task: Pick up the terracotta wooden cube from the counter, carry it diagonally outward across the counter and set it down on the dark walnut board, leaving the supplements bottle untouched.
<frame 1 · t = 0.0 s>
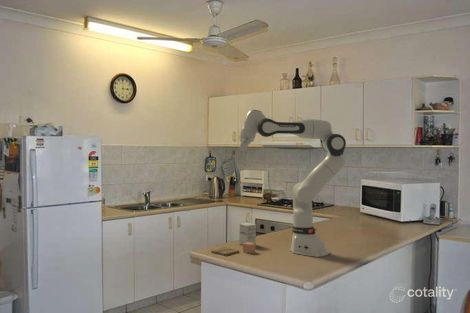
hand: (238, 159, 235), 52 cm above the worktop, tool tilted 20°, fingers open, 8 cm apart
terracotta cube: (249, 252, 230), on the worktop
supplement box: (247, 244, 248), on the worktop
walnut board: (225, 252, 229), on the worktop
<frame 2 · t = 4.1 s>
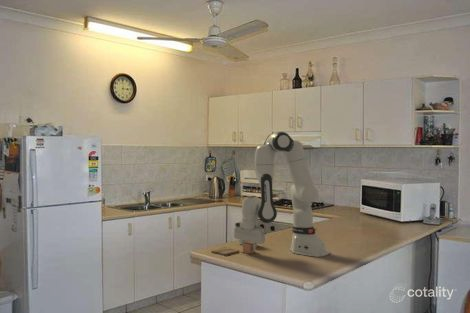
hand: (249, 249, 230), 2 cm above the worktop, tool pointing down, fingers closed on terracotta cube, 5 cm apart
terracotta cube: (249, 252, 230), on the worktop, touching gripper
everything else where it was.
when the fingers open (4 cm above the worktop, at t = 11.5 s): terracotta cube drops 1 cm, resting on walnut board.
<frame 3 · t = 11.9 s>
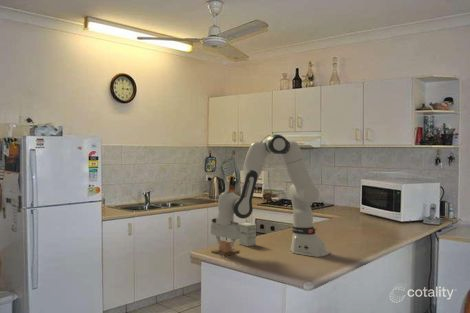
hand: (225, 245, 229), 4 cm above the worktop, tool pointing down, fingers open, 8 cm apart
terracotta cube: (225, 250, 229), point 1 cm above the worktop, touching walnut board
everything else where it was.
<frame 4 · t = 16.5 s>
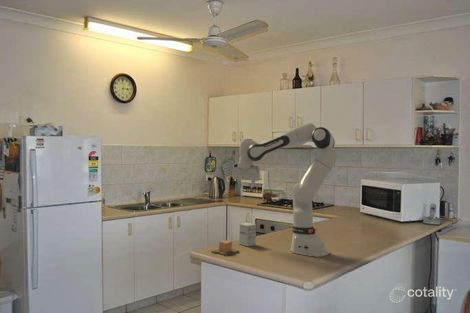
hand: (245, 187, 255), 34 cm above the worktop, tool pointing down, fingers open, 8 cm apart
nothing on the worktop moved.
at the end: terracotta cube inside the target area on the walnut board (0.0 cm from its centre), point 1.0 cm above the walnut board's base; terracotta cube tilted 0°; the gripper is holding nothing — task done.
